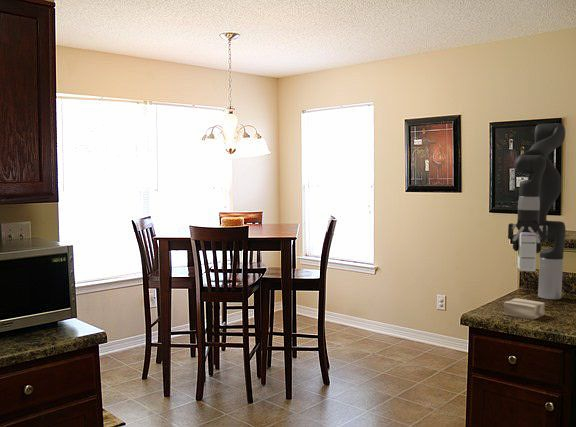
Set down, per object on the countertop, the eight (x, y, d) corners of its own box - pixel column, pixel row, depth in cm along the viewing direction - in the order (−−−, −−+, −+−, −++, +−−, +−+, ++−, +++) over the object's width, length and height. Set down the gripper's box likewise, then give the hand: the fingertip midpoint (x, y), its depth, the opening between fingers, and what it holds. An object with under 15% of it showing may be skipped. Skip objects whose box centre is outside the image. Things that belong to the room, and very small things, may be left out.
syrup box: (536, 271, 217) (537, 232, 216) (519, 270, 218) (521, 232, 217) (532, 269, 222) (534, 231, 221) (516, 268, 224) (518, 230, 223)
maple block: (515, 310, 229) (516, 298, 229) (544, 315, 222) (544, 302, 221) (503, 315, 222) (504, 302, 221) (532, 320, 214) (533, 307, 213)
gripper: (551, 209, 217) (549, 252, 218) (512, 207, 226) (510, 249, 227) (546, 210, 211) (544, 254, 212) (506, 208, 220) (504, 251, 221)
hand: (526, 251), depth 220 cm, fingers closed on syrup box, 7 cm apart
